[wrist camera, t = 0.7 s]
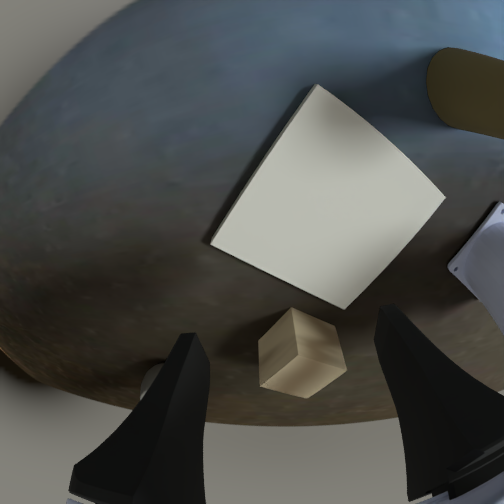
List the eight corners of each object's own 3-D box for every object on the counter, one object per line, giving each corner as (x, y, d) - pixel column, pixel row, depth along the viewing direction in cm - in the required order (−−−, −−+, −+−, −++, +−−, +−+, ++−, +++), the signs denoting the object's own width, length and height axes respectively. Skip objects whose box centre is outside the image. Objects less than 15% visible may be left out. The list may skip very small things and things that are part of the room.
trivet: (440, 192, 18) (445, 197, 17) (341, 302, 24) (344, 309, 23) (314, 83, 14) (317, 84, 14) (211, 238, 20) (210, 244, 19)
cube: (334, 325, 25) (346, 370, 21) (300, 355, 28) (307, 398, 23) (291, 306, 24) (298, 354, 20) (258, 340, 26) (259, 386, 22)
